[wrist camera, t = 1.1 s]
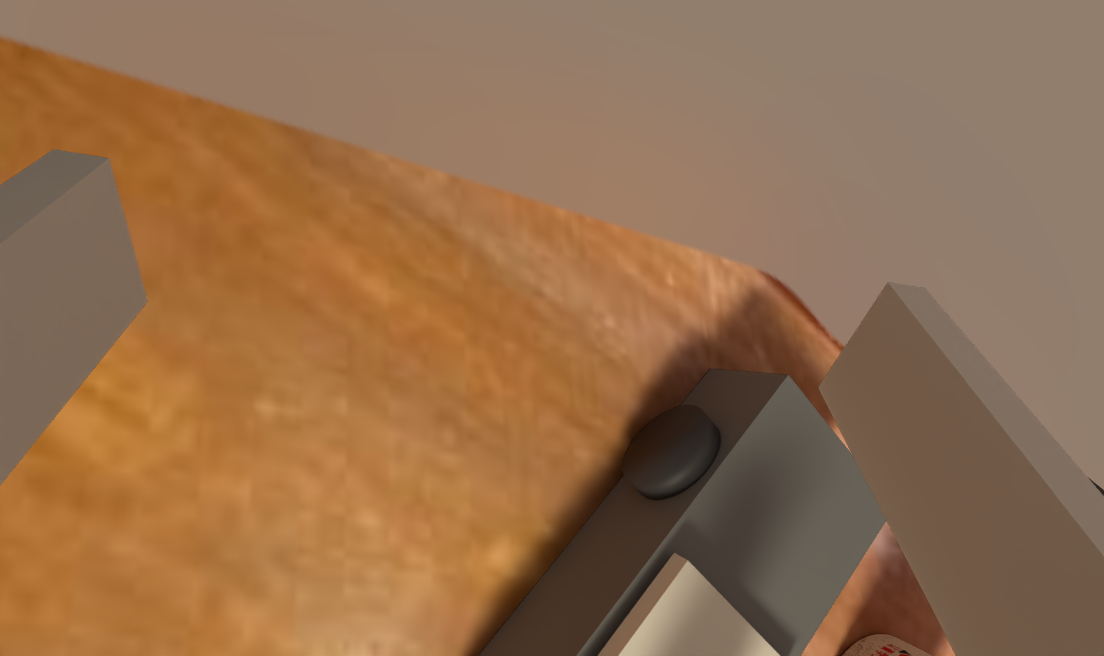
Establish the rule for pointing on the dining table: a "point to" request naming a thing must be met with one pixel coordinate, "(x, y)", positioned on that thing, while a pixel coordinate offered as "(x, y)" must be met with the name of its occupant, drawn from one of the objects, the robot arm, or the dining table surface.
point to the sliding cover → (684, 620)
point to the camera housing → (713, 521)
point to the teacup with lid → (883, 647)
